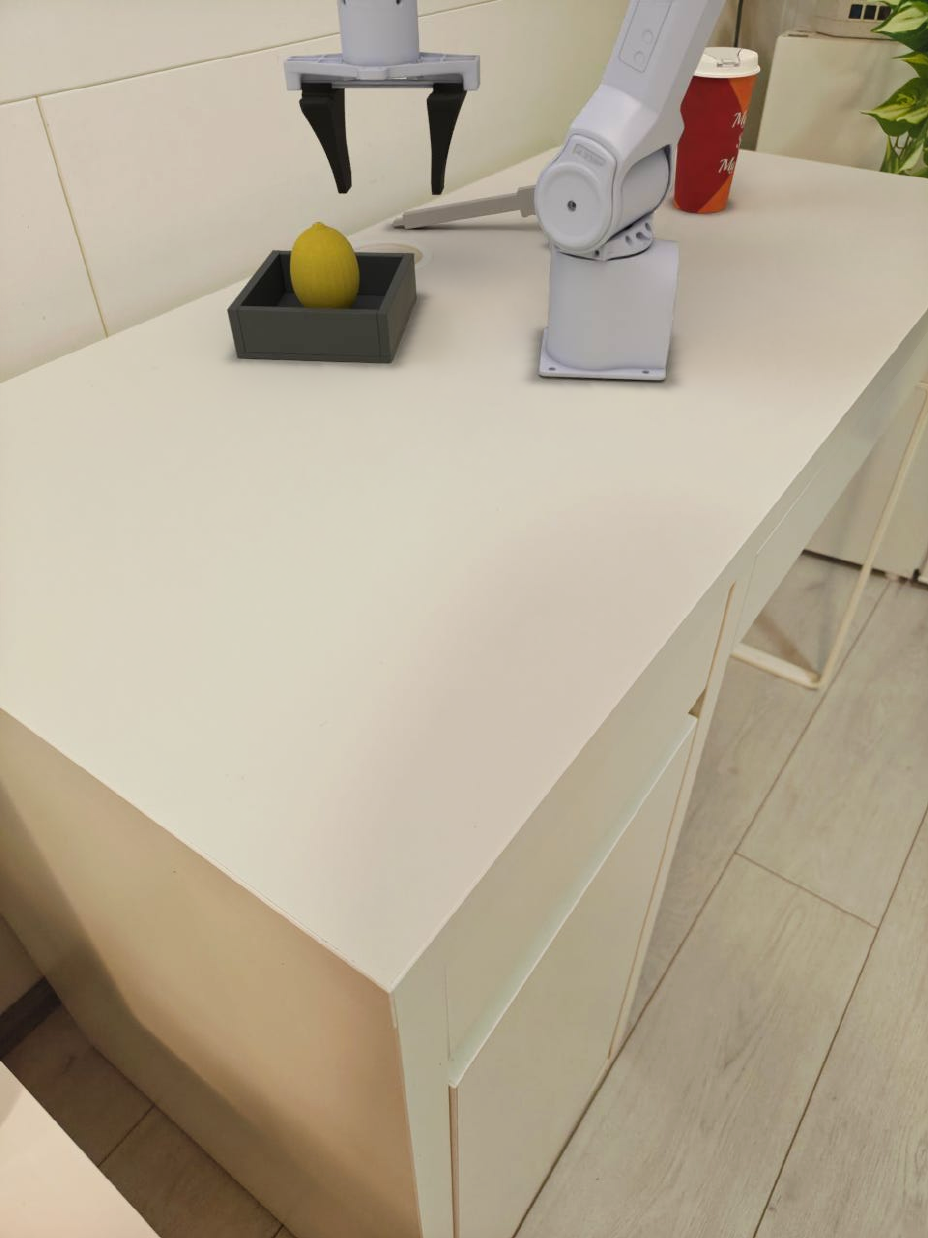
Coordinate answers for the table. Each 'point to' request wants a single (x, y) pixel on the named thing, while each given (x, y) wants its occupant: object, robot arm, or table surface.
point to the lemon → (324, 268)
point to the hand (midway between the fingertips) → (391, 190)
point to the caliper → (471, 209)
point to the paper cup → (713, 128)
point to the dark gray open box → (325, 313)
